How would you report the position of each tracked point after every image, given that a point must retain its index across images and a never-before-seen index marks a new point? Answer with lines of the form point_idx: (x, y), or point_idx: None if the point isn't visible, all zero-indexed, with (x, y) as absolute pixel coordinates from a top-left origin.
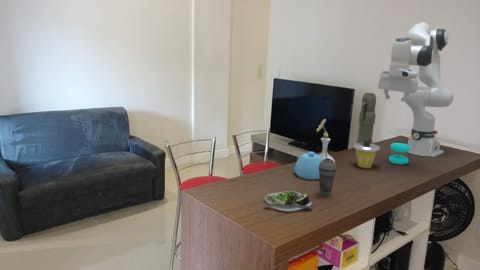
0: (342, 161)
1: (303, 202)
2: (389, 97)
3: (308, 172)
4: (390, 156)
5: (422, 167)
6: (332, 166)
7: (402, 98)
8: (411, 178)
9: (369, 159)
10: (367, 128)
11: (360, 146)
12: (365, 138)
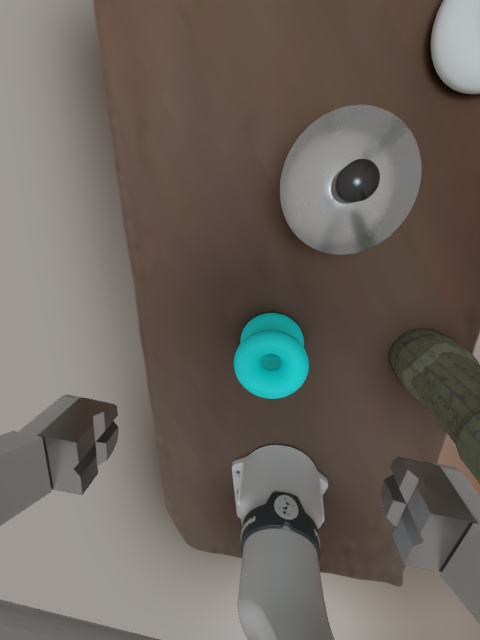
0: (427, 167)
1: None
2: (390, 516)
3: None
4: (296, 334)
5: (201, 350)
6: None
7: (63, 428)
8: (160, 218)
9: None
10: (468, 397)
11: (368, 144)
12: (370, 171)
